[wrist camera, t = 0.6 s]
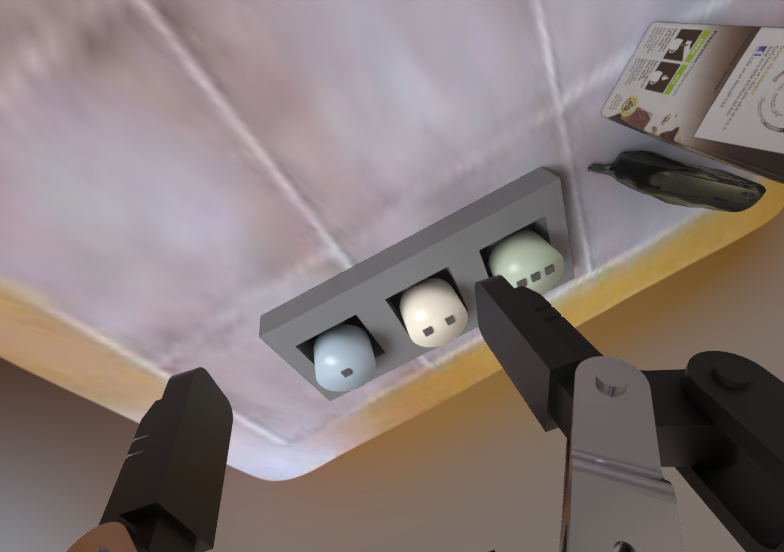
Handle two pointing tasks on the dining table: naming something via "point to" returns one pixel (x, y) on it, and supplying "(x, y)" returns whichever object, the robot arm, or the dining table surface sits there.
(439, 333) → the cream button
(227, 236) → the dining table surface
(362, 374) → the blue button
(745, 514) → the robot arm
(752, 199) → the mobile phone
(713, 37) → the coffee box
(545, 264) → the sage button
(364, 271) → the button board
